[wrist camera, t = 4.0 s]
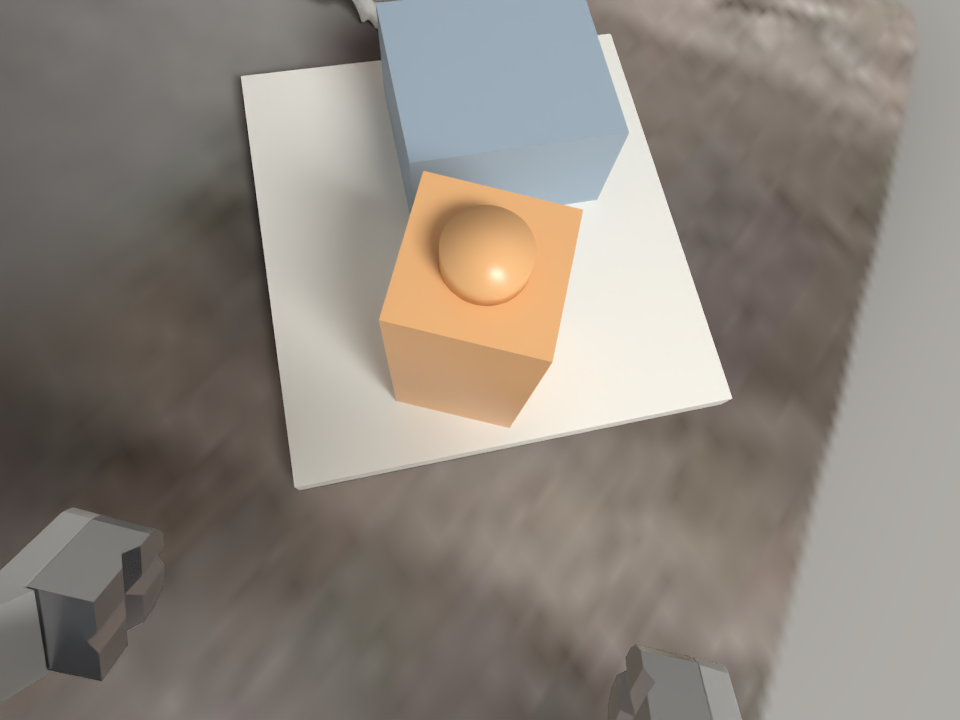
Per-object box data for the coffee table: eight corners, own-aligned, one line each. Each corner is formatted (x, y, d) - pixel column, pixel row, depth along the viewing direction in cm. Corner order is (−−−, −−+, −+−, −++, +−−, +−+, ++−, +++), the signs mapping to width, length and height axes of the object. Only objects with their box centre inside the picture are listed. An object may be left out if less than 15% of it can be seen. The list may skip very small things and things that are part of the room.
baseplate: (299, 490, 23) (294, 487, 22) (247, 92, 28) (240, 76, 27) (720, 404, 26) (732, 398, 25) (604, 49, 31) (610, 33, 30)
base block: (412, 227, 26) (409, 162, 21) (383, 87, 28) (375, 2, 23) (597, 199, 27) (629, 132, 23) (557, 66, 29) (579, -19, 24)
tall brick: (509, 428, 24) (558, 352, 15) (396, 400, 24) (375, 308, 15) (532, 322, 25) (590, 193, 16) (424, 296, 25) (423, 152, 16)
